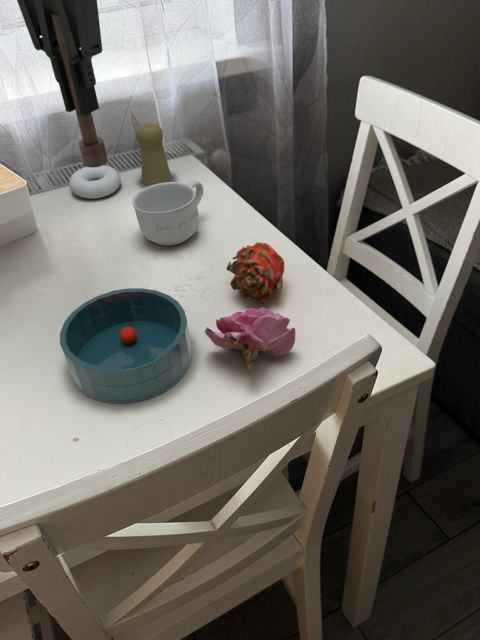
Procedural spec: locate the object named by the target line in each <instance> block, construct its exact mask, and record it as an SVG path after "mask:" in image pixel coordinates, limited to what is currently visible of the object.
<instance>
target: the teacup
mask: <svg viewBox="0 0 480 640" xmlns="http://www.w3.org/2000/svg"><path fill="white" fill-rule="evenodd" d="M194 188H195V189H194ZM203 196H204V186H203V184H202V183H201V182H200V181H199V180H196V179H192V180H189V181H188V182H187V184H186V183H185V182H184V183H183V182H177V181H170V182H165V183H159V184H155V185H152V186H147V187H144V188H142V189H141V190H139V191H138V192H137V193H135V194H134V196H133V197H132V201H131V205H132V206H133V208H134V212H135V216H136V219H137V223H138V226H139V229H140V231H141V233H142V235H143V236H144V237H145V238H146V239H147V240H149V241H151V242H153V243H156V244H157V245H160V246H167V247H169V246H170V247H171V246H176V245H180V244H183V243H185V242H186V241H187V240H188V239H189V238H191V236H192V235H194V234H195V232H197V231H196V230H197V229H198V227H199V224H200V223H199V222H200V218H199V217H200V216H199V208H198V206H199V204H200V203H201V200H202V199H203Z"/></svg>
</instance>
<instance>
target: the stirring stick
mask: <svg viewBox="0 0 480 640" xmlns="http://www.w3.org/2000/svg"><path fill="white" fill-rule="evenodd" d="M51 17H52V21H53V25H54V29H55V33H56V37H57V41H58V45H59V49H60V52H61V56H62V60H63V64H64V68H65V72H66V76H67V80H68V84H69V88H70V92H71V96H72V100H73V104H74V107H75V110H74V111H75V115H76V118H77V123H78V128H79V130H80V134H81V135H80V136H81V139H80V140H79V141H78V147H79V151H80V155H81V159H82V163H83V166H84V167H91V168H94V167H100V166H103V165H105V166H106V164H107V163H108V161H109V160H108V154H107V151H106V146H105V142H104V138H102V137H100V136H98V135H97V130H96V126H95V122H94V121H95V120H94V117H93V112H91V113H89V114H88V115H86V116H85V115H81V112H80V108H79V104H78V100H77V96H76V92H75V88H74V84H73V80H72V76H71V72H70V68H69V64H68V62H69V61H68V59H69V58H72V56H71V53H70V50H69V46H68V43H67V40H66V37H65V33H64V30H63V27H62V24H61V20H60V17H59V14H58V11H56V12H53V13H51Z"/></svg>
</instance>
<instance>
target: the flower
mask: <svg viewBox="0 0 480 640" xmlns="http://www.w3.org/2000/svg"><path fill="white" fill-rule="evenodd" d="M290 322H291V319H290V318H288V317H286V316H284V315H282V314H281V313H278V312H276V313H275V312H274V310H272V309H270V308H269V309H268V308H265V307H264V306H263V307H260V308H259V309H256V308H247V309H245V311H236V312H233V313H232V314H231V315H230V316H223V317H220V318H219V319H215V326H216V328H217V330H218V331H213V330H212V329H211V328H209V327H206V328H205V330H204V333H205V335H206V336H207V337H208V338H209V340H210V341H211V342H212V343H213V345H214V346H217V347H219V348H222V349H236V350H240V351H241V353H242V354H243V357H244V358H245V363H246V366H247V368H248V370H249V376H250V381H251V386H253V385H254V383H253V378H252V374H251V366H253V365H254V362H255V361H256V359H257V357H258V354H259V351H261V352H264V353H266V354H267V355H271V356H277V357H278V356H284V355H286V354H288V353H289V352H290V351H291V350H293V348H294V346H295V343H296V328H295V327H291V328H288V326H289V324H290Z"/></svg>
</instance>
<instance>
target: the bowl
mask: <svg viewBox="0 0 480 640" xmlns="http://www.w3.org/2000/svg"><path fill="white" fill-rule="evenodd" d="M188 323H189V322H188V319H187V315H186V310H185V309H184V308H183V306H182V305H181V304H180V302H179V301H178V300H176V299H175V298H173V297H172V296H171V295H169V294H167V293H164V292H161V291H159V290H156V289H149V288H143V287H142V288H141V287H138V288H136V287H135V288H129V287H128V288H122V289H121V288H120V289H116V290H110V291H108V292H105V293H101V294H99V295H96V296H93V297H92V298H90V299H89V300H87V301H85V302H83V303H82V304H80V305H79V306H78V307H77V308H76V309H74V310H73V311H72V312H71V313H70V314H69V315H68V317H67V318H66V319H65V320H64V321H63V324H62V327H61V329H60V332H59V345H60V348H61V350H62V351H61V352H62V353H63V357H64V359H65V362H66V365H67V367H68V370H69V372H70V375H71V378H72V380H73V382H74V384H75V385H76V387H77V389H79V390H80V391H81V392H82V393H83V394H84V395H86V396H87V397H89V398H92V399H94V400H96V401H100V402H103V403H108V404H120V405H121V404H132V403H133V404H134V403H138V402H142V401H146V400H149V399H152V398H155V397H157V396H159V395H161V394H163V393H165V392H167V391H169V390H170V389H171V388H172V387H173V386H175V385H176V384H177V383H178V382H179V381H180V380H181V379H182V378H183V377H184V376H185V374H186V372H187V371H188V369H189V367H190V365H191V362H192V354H193V353H192V343H191V338H190V331H189V330H190V329H189V324H188ZM125 327H131V328H133V329H134V330H135V331H136V334H137V338H136V340H135V341H134V342H133V343H131V344H125V343H123V342H122V341H121V340H120V337H119V334H120V331H121V330H122V329H123V328H125Z"/></svg>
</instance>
